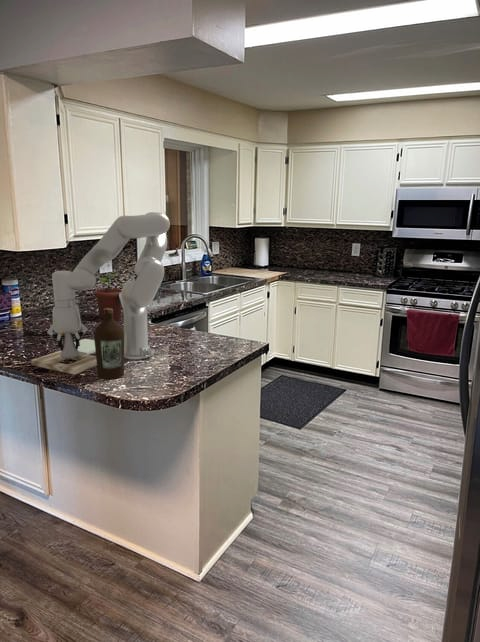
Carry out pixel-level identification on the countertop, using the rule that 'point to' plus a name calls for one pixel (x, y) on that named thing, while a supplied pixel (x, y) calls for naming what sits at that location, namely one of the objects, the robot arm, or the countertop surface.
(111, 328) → the olive oil
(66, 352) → the flask
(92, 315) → the countertop surface
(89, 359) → the tan flat rectangular frame
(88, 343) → the sage tile
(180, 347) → the countertop surface
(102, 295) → the potted plant
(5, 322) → the countertop surface
